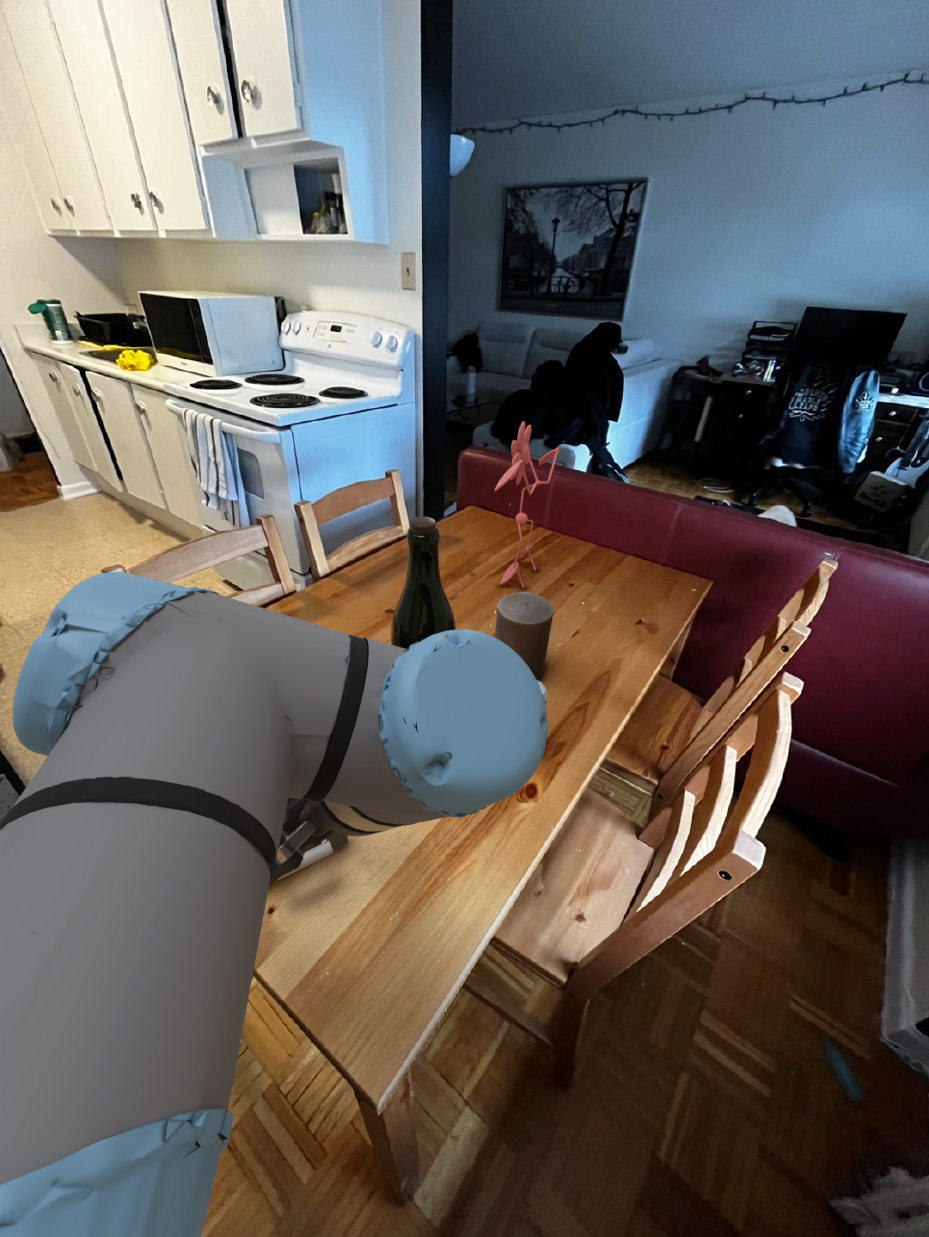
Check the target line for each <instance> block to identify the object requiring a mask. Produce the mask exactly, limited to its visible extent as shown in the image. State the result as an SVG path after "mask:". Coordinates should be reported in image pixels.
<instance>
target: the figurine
mask: <svg viewBox="0 0 929 1237" xmlns="http://www.w3.org/2000/svg"><path fill="white" fill-rule="evenodd" d="M531 434H532V425H531V424H529V425H527V426H526V422H525V421H522V422H521V424H520V425H519V428H518V433H517V440H516V439H513V440H512V442H511V445H510V453H511V458H512V460H511V467H509V469H507V470H506V472H505V473H504V474H503V475H502V476H501V478H500V479H499V480H498V482H497V484H496V485H495V488H494V489H493V490H494V492H497V491H498V490H500V489H501V488H502V487H504V486H505V484H507V483H508V482H509V481H512V480H514V478H515V477H516V479H515V483H516V485H517V486H519V484H520V483H521V481H522V478H523V480H524V483H525V487H523V488H522V489H521V493H520V494H521V495H520V505H519V512H518V513H517V514H516V516H515V522H516V524H517V528H518V533H519V534H518V535H519V539H520V541H519V545H518V547H517V552H516V556H515V559H514V562H513V563H512V564H511V565H509V566H508V568H507V569H506V570H505V572H504V573H503V574H504V575H503V576H502V579H501V580H500V582H499V585H500V586H501V585H502V586H503V585H504V584H506V583H507V582H509V581H510V580H511V579H512V578H513V576H514V575H515V574H516V575H517V578H518V581H519V583H520V586H521V589H524V588H525V585H524V583H523V579H522V576H521V573H520V571H519V565H520V563H519V561H518V560H519V559H520V558H521V557H523V555H525V554H526V553H528V556H529V559H530V563H531V566H532V568H533V571H534V572H536V571H537V568H536V567H537V566H536V565H535V562H534V559H533V555H532V553H531V550H530V549H531V548H532V547H533V545H530V542H531V537H532V533H533V532H532V531H533V527H534V520H532V519H528V515H527V514H526V513H525V512H522V511H523V503H524V497H525V490H527V492H528V496H529V497H531V496H532V495H533V492H534V491H535V489H536V487H537V486H540V485H549V484H550V482H551V479H552V475H553V472H554V469H555V465H556V461H557V458H558V454H559V452H560V447H556V448H554V449H552V450H550V451H548V452H547V453H546V454H544V455H543V456H542V457H541V458H540V459H539V460H538V465H539V466H542V465H544V464H546V463H548V462H549V461H551V460H552V459H553V460H552V464H551V467H550V470H549V475H548V478H547V480H546V481H545V480H543V481H541V480H539V478H538V475H537V472H536V470H535V467H534V464H533V461H532V459H531V449H530V439H531ZM528 464H529V466H530V469H531V471H532V473H533V476H534V479H535V482H534V483H532V484H530V483H529V481H528V477H527V475H526V474H527V473H526V471H525V465H528ZM527 522H530V523H531V524H530V530H529V535H528V538H527V539H528V540H527V545H526V548H525V550H524V552H523V553H521V554H520V550H521V547H522V545H523V544H522V543H523V537H522V530H521V526H523V525H525V524H527ZM529 545H530V546H529ZM519 554H520V555H519ZM487 558H488V556H487V557H484V558H482V559H481V560H479V561H478V563H480V562H481V561H483V560H486V559H487ZM540 559H541V560H544V561H546V559H545V558H543V557H540ZM472 567H473V568H472V569H474V568H475V564H474V563H473V564H472ZM471 577H472V580H473V582H474V584H475V585H476V586H477V587H479V584H477V583H476V582H475V580H474V579H473V578H474V577H473V576H471Z"/></svg>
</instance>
